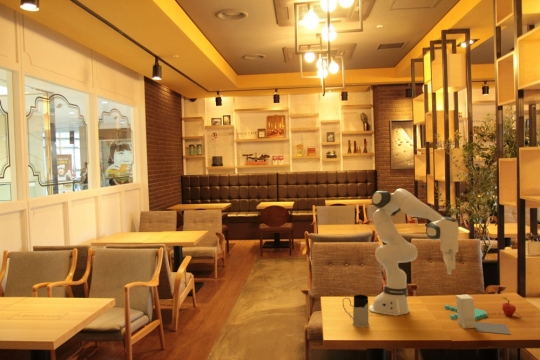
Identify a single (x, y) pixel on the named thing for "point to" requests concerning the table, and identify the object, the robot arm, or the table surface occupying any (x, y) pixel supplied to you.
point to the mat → (491, 328)
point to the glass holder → (360, 311)
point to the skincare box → (465, 311)
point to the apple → (508, 308)
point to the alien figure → (478, 312)
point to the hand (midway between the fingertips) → (449, 274)
